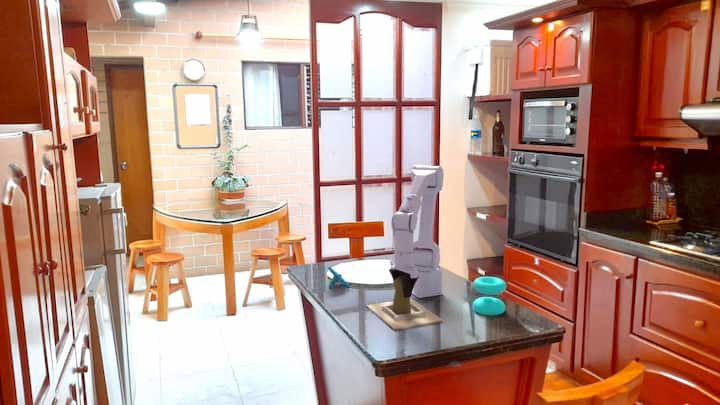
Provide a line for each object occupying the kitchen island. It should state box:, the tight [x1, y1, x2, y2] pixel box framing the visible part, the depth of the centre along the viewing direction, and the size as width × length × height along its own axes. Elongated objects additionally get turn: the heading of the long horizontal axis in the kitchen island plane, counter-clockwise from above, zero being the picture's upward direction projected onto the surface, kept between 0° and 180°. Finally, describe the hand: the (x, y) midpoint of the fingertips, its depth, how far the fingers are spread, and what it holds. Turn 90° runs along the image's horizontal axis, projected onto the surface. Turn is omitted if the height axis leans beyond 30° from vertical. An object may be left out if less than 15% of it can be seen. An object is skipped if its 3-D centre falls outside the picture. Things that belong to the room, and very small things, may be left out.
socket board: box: [366, 297, 444, 331], centre depth 161 cm, size 16×20×2 cm
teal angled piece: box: [327, 266, 350, 289], centre depth 186 cm, size 11×6×10 cm
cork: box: [392, 277, 411, 315], centre depth 160 cm, size 6×6×11 cm
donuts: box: [472, 276, 507, 317], centre depth 163 cm, size 10×10×10 cm
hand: (403, 294), depth 160 cm, fingers closed on cork, 5 cm apart
